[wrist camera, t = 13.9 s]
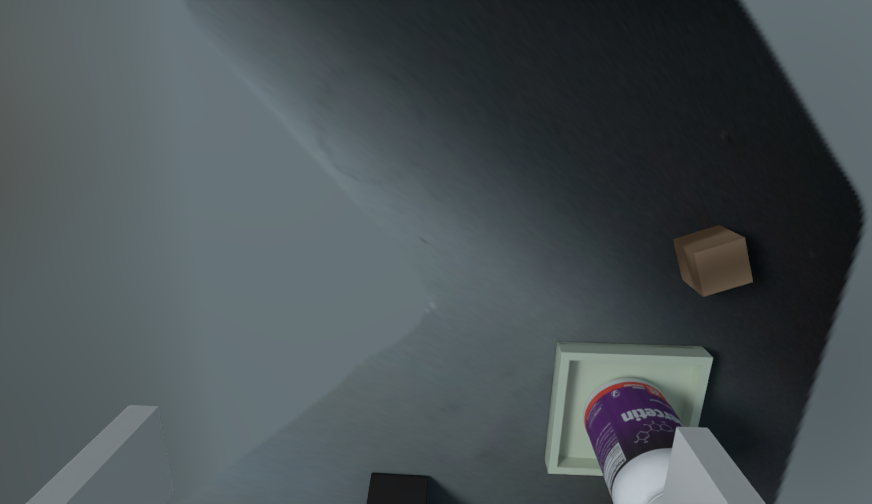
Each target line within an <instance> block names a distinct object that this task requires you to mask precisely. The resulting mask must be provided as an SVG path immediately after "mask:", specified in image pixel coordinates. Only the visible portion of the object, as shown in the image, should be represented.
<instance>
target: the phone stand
mask: <svg viewBox="0 0 872 504" xmlns="http://www.w3.org/2000/svg"><path fill="white" fill-rule="evenodd" d="M426 498H427V476H412V475H395V474H379V473H372V474H371V480H370V486H369V492H368V498H367V504H426Z"/></svg>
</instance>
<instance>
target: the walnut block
mask: <svg viewBox="0 0 872 504" xmlns="http://www.w3.org/2000/svg"><path fill="white" fill-rule="evenodd" d="M673 241H674V246H675V250H676V254H677V259H678V263H679V268H680V272H681V276H682V280H683V281H685V282H686V283H687V284H688V285H689V286H691V287H692V288H693V289H694V290H696V291H697V292H698V293H699V294H701V295H702V296H703V297H704V296H708V295H711V294H714V293H718V292H721V291H724V290H728V289H731V288H734V287H738V286H741V285H744V284H748V283H751V282H753V279H752V274H751V268H750V263H749V257H748V252H747V246H746V241H745V237H743V236H741V235H739V234H737V233H734V232H732V231H730V230H728V229H726V228H724V227H722V226H720V225H718V226H715V227H712V228H708V229H705V230H702V231H699V232H696V233H693V234H689V235H686V236H683V237H680V238H677V239H674V240H673Z"/></svg>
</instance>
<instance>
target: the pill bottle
mask: <svg viewBox="0 0 872 504" xmlns="http://www.w3.org/2000/svg"><path fill="white" fill-rule="evenodd" d="M583 421H584V426H585V429H586V432H587V434H588V437H589V439H590V442H591V445H592V447H593V450H594V453H595V455H596V458H597V461H598V463H599V466H600V468H601V471H602V474H603V476H604V479H605V482H606V484H607V487H608V489H609V492H610V495H611V498H612V500H613V503H614V504H661V501H662V496H663V491H664V486H665V481H666V476H667V471H668V467H669V462H670V457H671V452H672V447H673V442H674V437H675V432H676V427H685V426H684V424H683V423H682V422H681V420H680V419H679V417H678V416H677V414H676V413H675V411H674V410H673V408H672V407H671V405H670V404H669V402H668V401H667V399H666V398H665V397H664V395H663V394H662V393H661V391H660V390H659V389H657V388H656V387H655V386H654V385H652V384H650V383H648V382H646V381H644V380H641V379H636V378H619V379H615V380H611V381H609V382H606V383H604V384H603V385H601V386H599V387H598V388H597V389H596V390H595V391H594V392H593V393H592V394H591V395H590V397H589V398H588V400H587V402H586V404H585V407H584V412H583Z"/></svg>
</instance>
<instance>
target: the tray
mask: <svg viewBox="0 0 872 504" xmlns="http://www.w3.org/2000/svg"><path fill="white" fill-rule="evenodd" d="M712 361H713V357H712V356H711V355H710V354H709V353H708V352H707V351H706V350H705V349H704V348H703V347H702V346H681V345H652V344H623V343H593V342H564V341H557V346H556V356H555V365H554V374H553V384H552V393H551V403H550V412H549V421H548V431H547V440H546V450H545V462H546V466H547V470H548V473H550V474H574V475H598V476H603V474H602V471H601V468H600V466H599V463H598V461H597V458H596V455H595V453H594V450H593V447H592V445H591V442H590V439H589V437H588V434H587V432H586V429H585V426H584V421H583V412H584V407H585V404H586V402H587V400H588V398H589V397H590V395H591V394H592V393H593V392H594V391H595V390H596V389H597V388H598V387H599V386H601V385H603V384H604V383H606V382H609V381H611V380H615V379H619V378H636V379H641V380H644V381H646V382H648V383H650V384H652V385H654V386H655V387H656V388H657V389H659V390H660V391H661V393H662V394H663V395H664V397H665V398H666V399H667V401H668V402H669V404H670V405H671V407H672V408H673V410H674V411H675V413H676V414H677V416H678V417H679V419H680V420H681V422H682V423H683V424H684V426H685V427H698V425H699V420H700V415H701V411H702V406H703V402H704V397H705V393H706V388H707V383H708V379H709V374H710V370H711V365H712Z"/></svg>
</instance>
